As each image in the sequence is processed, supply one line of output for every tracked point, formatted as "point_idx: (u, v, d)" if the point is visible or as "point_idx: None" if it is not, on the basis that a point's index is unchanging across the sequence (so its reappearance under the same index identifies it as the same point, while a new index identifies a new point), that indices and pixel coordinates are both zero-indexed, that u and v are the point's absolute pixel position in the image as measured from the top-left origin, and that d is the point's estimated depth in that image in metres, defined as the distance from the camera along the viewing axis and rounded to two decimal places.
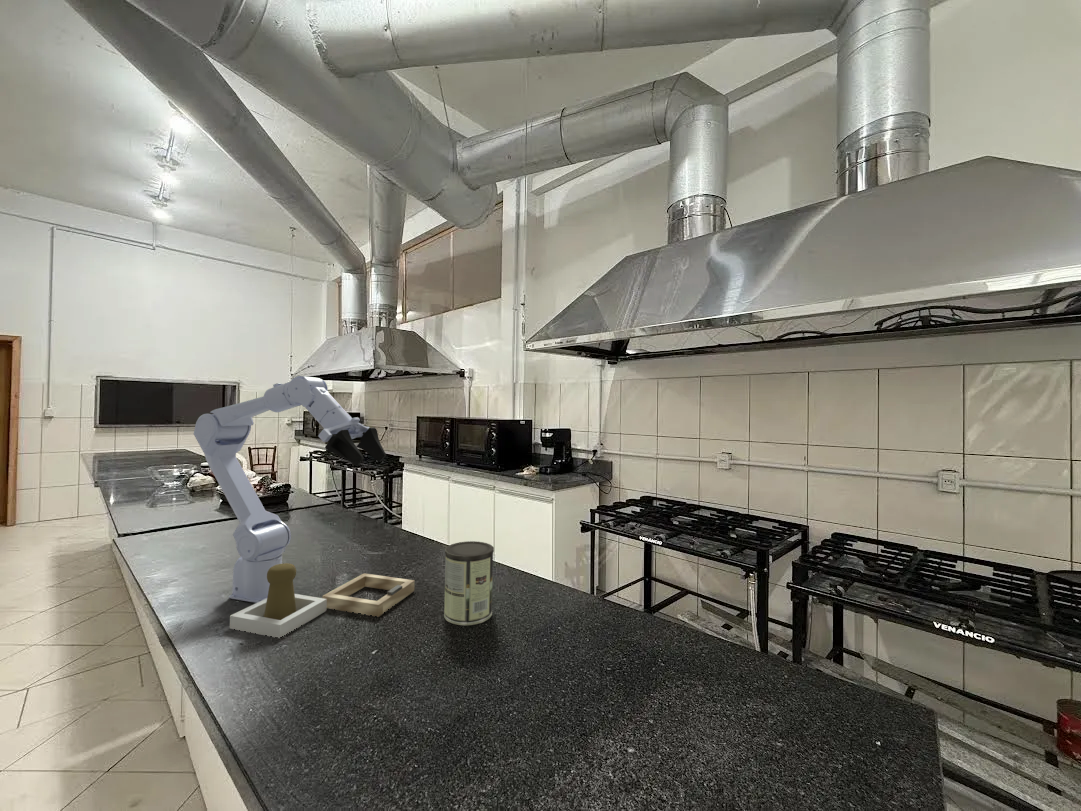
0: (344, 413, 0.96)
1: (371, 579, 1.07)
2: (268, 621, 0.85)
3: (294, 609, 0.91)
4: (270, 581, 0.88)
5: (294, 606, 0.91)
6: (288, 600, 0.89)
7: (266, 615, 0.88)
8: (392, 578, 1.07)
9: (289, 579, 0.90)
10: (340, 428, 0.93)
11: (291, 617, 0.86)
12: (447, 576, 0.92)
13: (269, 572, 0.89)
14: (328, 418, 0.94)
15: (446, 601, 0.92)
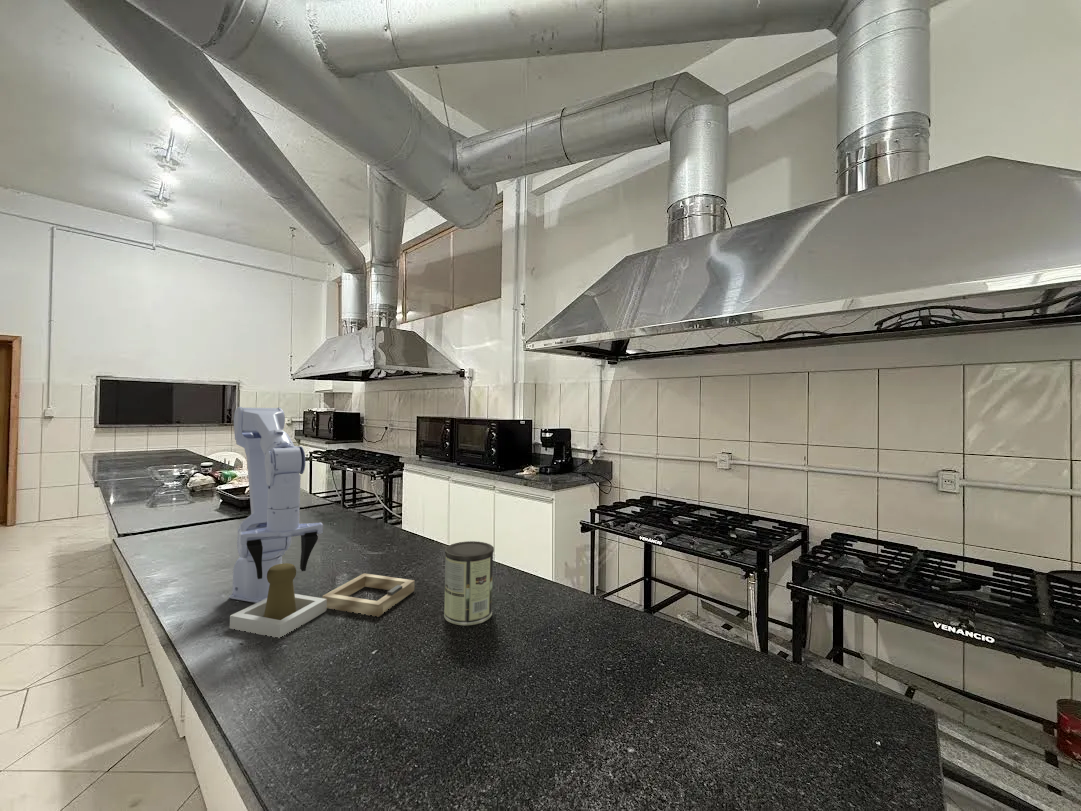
0: (283, 518, 0.88)
1: (371, 579, 1.07)
2: (268, 621, 0.85)
3: (294, 609, 0.91)
4: (270, 581, 0.88)
5: (294, 606, 0.91)
6: (288, 600, 0.89)
7: (266, 615, 0.88)
8: (392, 578, 1.07)
9: (289, 579, 0.90)
10: None
11: (291, 617, 0.86)
12: (447, 576, 0.92)
13: (269, 572, 0.89)
14: (268, 514, 0.88)
15: (446, 601, 0.92)
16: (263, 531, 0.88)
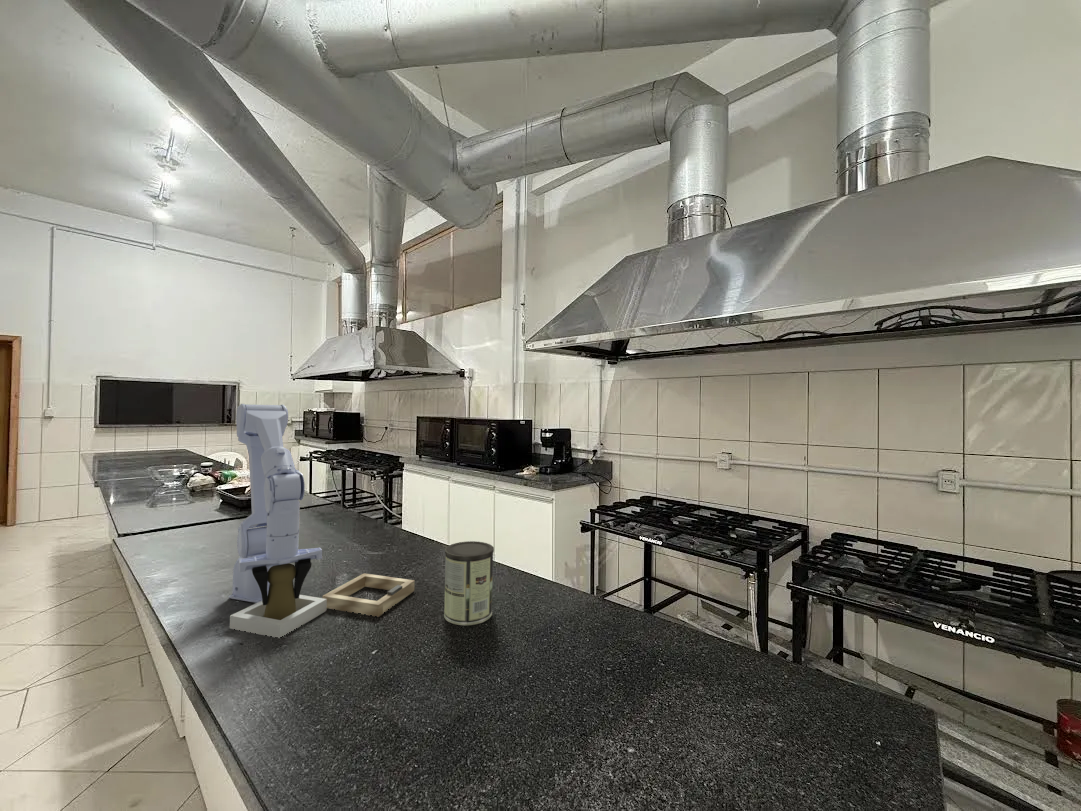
0: (282, 546, 0.88)
1: (371, 579, 1.07)
2: (268, 621, 0.85)
3: (294, 609, 0.91)
4: (270, 581, 0.88)
5: (294, 606, 0.91)
6: (288, 600, 0.89)
7: (266, 615, 0.88)
8: (392, 578, 1.07)
9: (289, 579, 0.89)
10: None
11: (291, 617, 0.86)
12: (447, 576, 0.92)
13: (269, 572, 0.89)
14: (267, 541, 0.88)
15: (446, 601, 0.92)
16: (262, 558, 0.88)
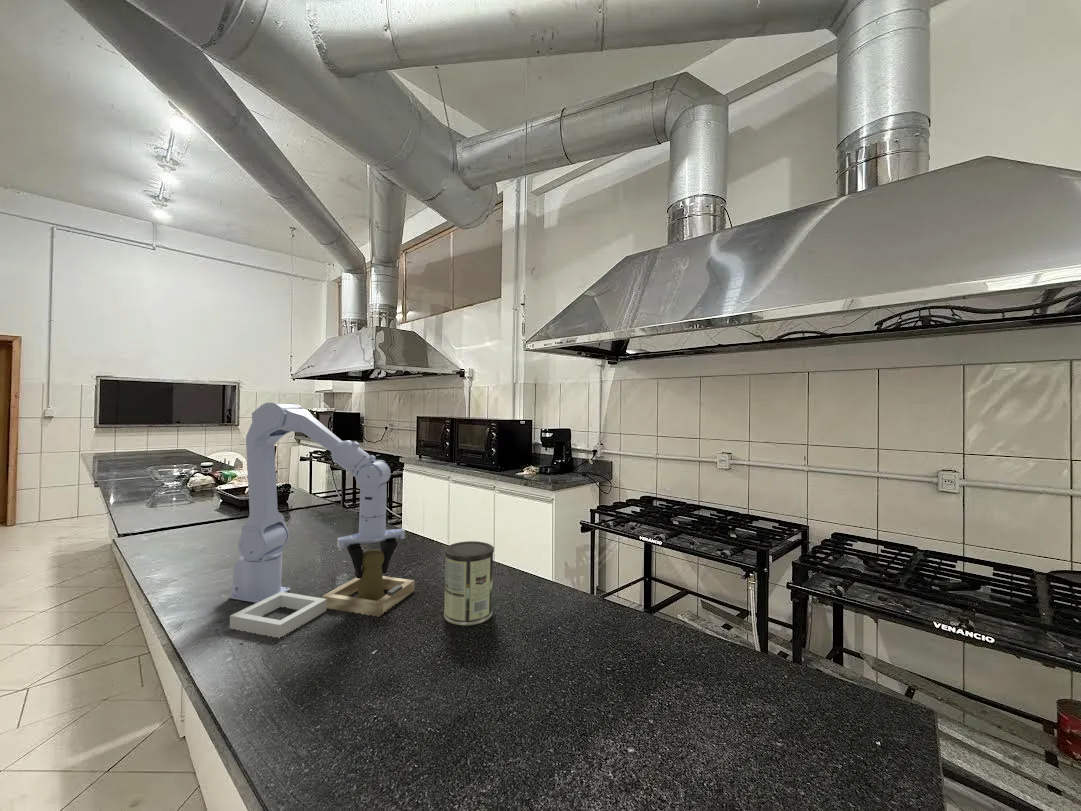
0: (375, 525, 0.99)
1: None
2: (268, 621, 0.85)
3: (383, 590, 1.01)
4: (365, 565, 0.98)
5: (383, 587, 1.01)
6: (379, 582, 1.00)
7: (360, 595, 0.98)
8: (392, 578, 1.07)
9: (380, 563, 1.00)
10: None
11: (291, 617, 0.86)
12: (447, 576, 0.92)
13: (363, 557, 0.99)
14: (360, 521, 0.99)
15: (446, 601, 0.92)
16: (356, 537, 0.99)
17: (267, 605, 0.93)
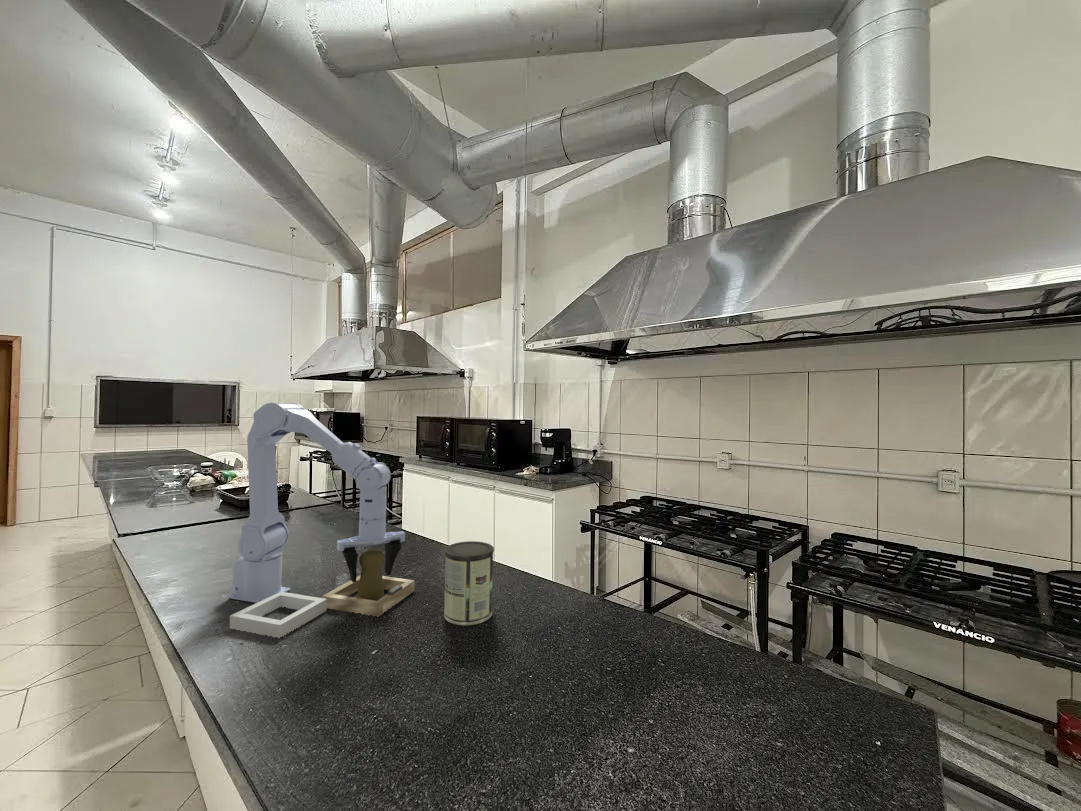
0: (374, 528, 0.99)
1: None
2: (268, 621, 0.85)
3: (383, 590, 1.01)
4: (364, 565, 0.98)
5: (383, 588, 1.01)
6: (379, 582, 1.00)
7: (360, 596, 0.98)
8: (392, 578, 1.07)
9: (380, 564, 1.00)
10: None
11: (291, 617, 0.86)
12: (447, 576, 0.92)
13: (362, 557, 0.99)
14: (360, 524, 0.99)
15: (446, 601, 0.92)
16: (356, 539, 0.99)
17: (267, 605, 0.93)
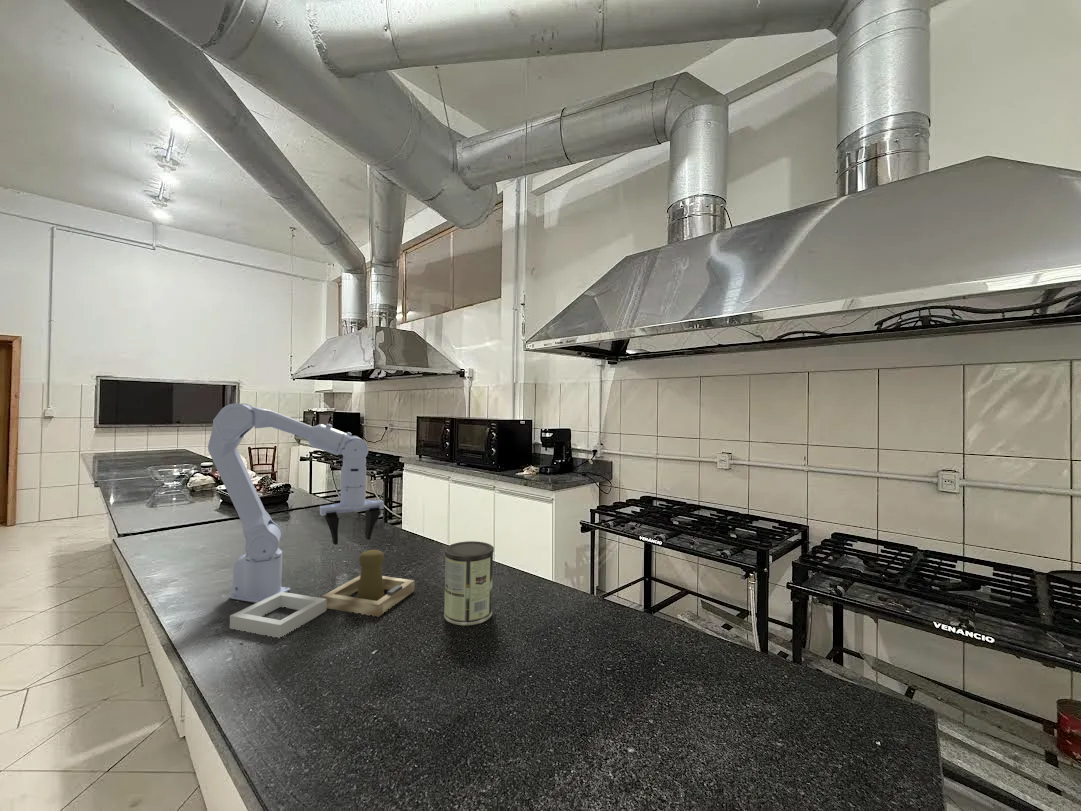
0: (355, 495, 1.07)
1: None
2: (268, 621, 0.85)
3: (383, 590, 1.01)
4: (364, 565, 0.98)
5: None
6: (379, 582, 1.00)
7: (360, 596, 0.98)
8: (392, 578, 1.07)
9: (380, 564, 1.00)
10: None
11: (291, 617, 0.86)
12: (447, 576, 0.92)
13: (362, 557, 0.99)
14: (342, 491, 1.08)
15: (446, 601, 0.92)
16: (338, 505, 1.08)
17: (267, 605, 0.93)
